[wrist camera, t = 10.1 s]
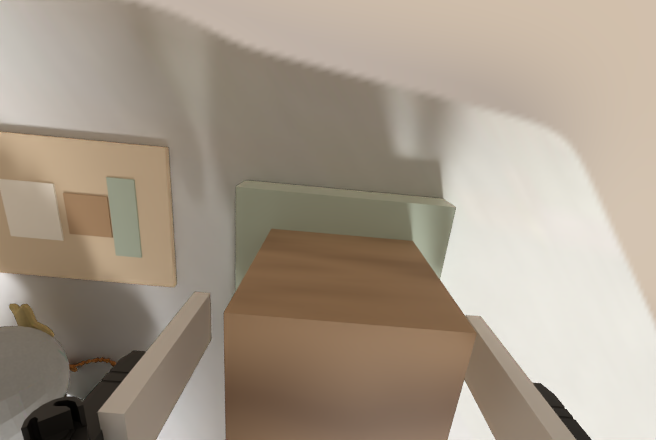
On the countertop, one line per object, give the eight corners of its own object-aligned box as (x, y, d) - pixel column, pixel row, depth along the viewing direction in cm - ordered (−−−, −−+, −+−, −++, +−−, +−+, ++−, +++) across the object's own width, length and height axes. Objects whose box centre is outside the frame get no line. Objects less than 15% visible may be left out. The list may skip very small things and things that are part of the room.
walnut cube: (391, 356, 20) (429, 503, 12) (267, 346, 20) (226, 488, 12) (413, 240, 17) (477, 333, 10) (271, 228, 17) (223, 312, 10)
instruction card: (176, 284, 21) (173, 288, 20) (-21, 267, 20) (-29, 270, 20) (168, 147, 18) (163, 148, 17) (-60, 125, 18) (-70, 125, 17)
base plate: (409, 359, 22) (416, 381, 20) (243, 345, 22) (235, 366, 20) (443, 198, 19) (455, 207, 17) (245, 180, 18) (235, 186, 17)
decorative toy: (196, 505, 23) (134, 302, 14) (16, 709, 16) (-385, 566, 6) (124, 408, 29) (45, 219, 19) (-33, 523, 21) (-278, 307, 12)
